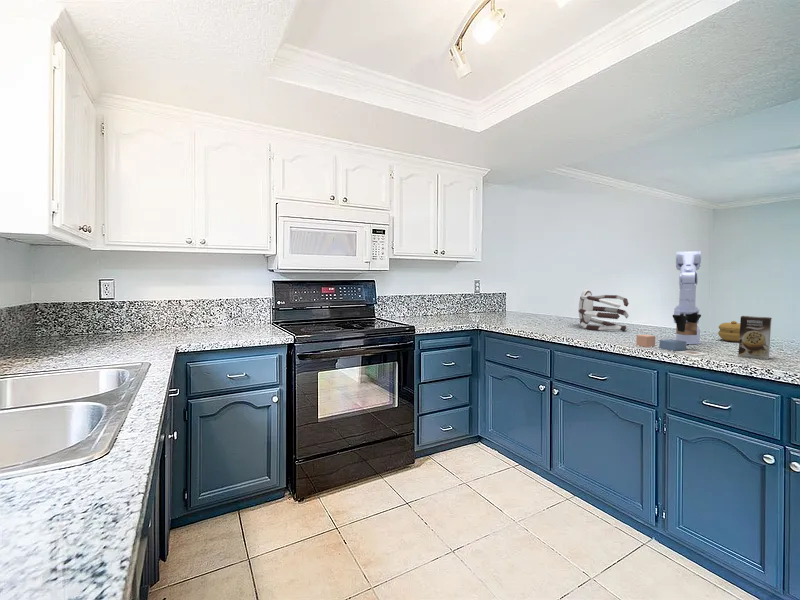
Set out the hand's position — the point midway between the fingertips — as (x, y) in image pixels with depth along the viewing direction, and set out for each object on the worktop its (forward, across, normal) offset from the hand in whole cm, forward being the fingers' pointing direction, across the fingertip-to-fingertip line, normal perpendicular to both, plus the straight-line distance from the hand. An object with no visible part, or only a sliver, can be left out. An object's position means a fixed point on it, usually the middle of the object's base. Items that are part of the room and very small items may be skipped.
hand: (686, 330), depth 174 cm
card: (+8, +6, +6) cm, 12 cm away
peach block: (+8, +6, -14) cm, 17 cm away
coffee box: (+9, -8, +21) cm, 24 cm away
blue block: (+9, +3, -4) cm, 10 cm away
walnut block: (+2, 0, 0) cm, 2 cm away
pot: (+9, -44, -3) cm, 45 cm away
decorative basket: (+9, -28, -65) cm, 71 cm away
